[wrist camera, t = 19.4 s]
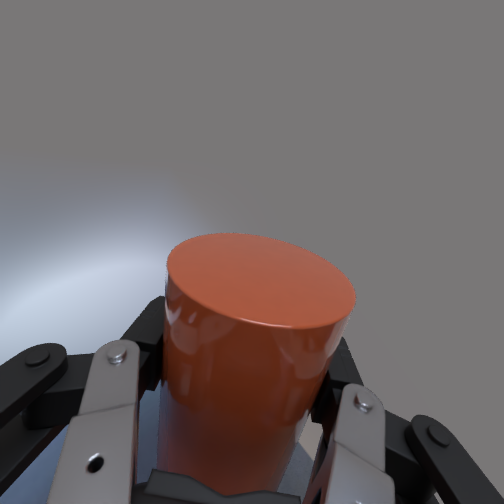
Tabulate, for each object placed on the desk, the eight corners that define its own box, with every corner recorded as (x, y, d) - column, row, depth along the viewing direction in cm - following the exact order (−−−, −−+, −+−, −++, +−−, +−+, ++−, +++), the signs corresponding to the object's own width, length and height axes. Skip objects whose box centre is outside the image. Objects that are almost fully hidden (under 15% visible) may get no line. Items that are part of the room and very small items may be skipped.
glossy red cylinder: (274, 398, 14) (323, 246, 11) (290, 545, 9) (401, 343, 5) (177, 387, 14) (191, 224, 10) (132, 536, 8) (127, 305, 5)
